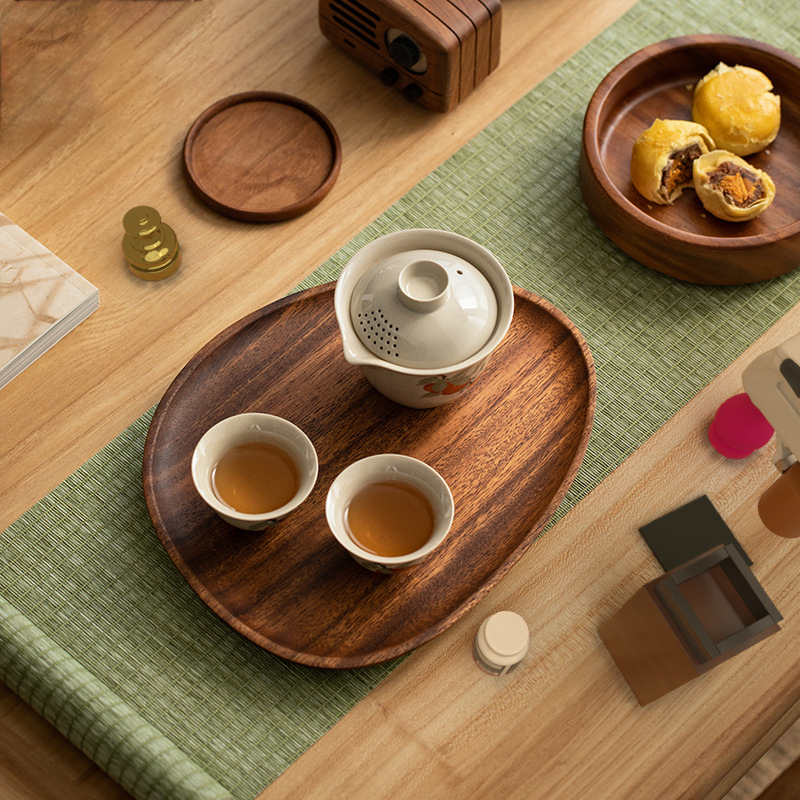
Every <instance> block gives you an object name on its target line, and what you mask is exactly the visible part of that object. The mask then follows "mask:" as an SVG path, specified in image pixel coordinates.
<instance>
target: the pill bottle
mask: <svg viewBox="0 0 800 800" xmlns="http://www.w3.org/2000/svg"><path fill="white" fill-rule="evenodd" d="M530 644H531V638H530V630H529V627H528V624H527V622H526V621H525V619H524V618H523V617H522V616H521V615H519V614H518V613H516V612H514V611H511V610H501V611H498V612H495V613H494V614H491V615H489V616H488V617H486V618H485V619H484V620H483V622H482V623H481V624H480V626H479V627H478V630H477V632H476V634H475V637H474V638H473V641H472V645H471V654H472V658H473V661H474V663H475V664H476V666H477V668H478V669H479V670H481V671H482V672H483V673H484V674H486V675H490V676H493V677H502V676H503V677H504V676H506V675H509V674H511V673H512V672H513V671H514V670H515V669H516V668H517V667H518V666H519V664H520V663H521V662H522V661H523V659H524V658H525V656H526V655H527V653H528V651H529V648H530Z"/></svg>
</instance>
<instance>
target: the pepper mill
mask: <svg viewBox="0 0 800 800" xmlns="http://www.w3.org/2000/svg"><path fill="white" fill-rule="evenodd" d="M775 432H776V431H775V429H774V428H773V427H772V425H771V424H770V423H769V421H768V420H767V419H766V417H765V416H764V415H763V413H762V412H761V411H760V410H759V408H758V407H757V406H756V404H755V403H754V402H753V400H752V399H751V398H750V396H749V395H748V394H747V393H746V392H741V393H737V394H735V395H732V396H730V397H728V398H726V399H725V401H724V402H722V403H721V404H720V405H719V407H718V408H717V409H716V412H715V415H714V419H713V420H712V422H711V423H710V425H709V427H708V439H709V442H710V444H711V446H712V447H713V449H714V450H715V451H716V452H717V453H718V454H720V455H721V456H723V457H725V458H728V459H733V460H741V459H745V458H748V457H750V455H752V454H753V453H754V452H755V451H757V450H760V449H762V448H763V447H765V446H766V445H767V444H768V443H769V442H770V440H772V437H773V436H774V434H775Z"/></svg>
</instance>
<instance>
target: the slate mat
mask: <svg viewBox="0 0 800 800" xmlns="http://www.w3.org/2000/svg"><path fill="white" fill-rule="evenodd" d="M638 531H639V533H640V535H641V536H642V538H643V539H644V541H645V542H646V544H647V545H648V547H649V549H650V550H651V552H652V553H653V555H654V556H655V558H656V560H657V561H658V562H659V565H660V566H661V568H662V569H663V571H664V573H667V572H669V571H670V570H672V569H674V568H676V567H678V566H680V565H682V564H684V563H686V562H688V561H689V560H691V559H693V558H695V557H697V556H699V555H701V554H703V553H705V552H706V551H708V550H710V549H712V548H714V547H716V546H718V545H720V544H722V543H723V544H724V546H727V545H729V544H730V543H732V544H733V545H734V547H735V548H736V549H737V551H738V552H739V554H740V555H741V557H742V558H743V560H744V561H745V563H746V564H747V565H748V567H749V568H750V567H752V566H753V565H754V562H753V561H752V559H751V558H750V556H749V555H748V553H747V552H746V551H745V549H744V547H743V546H742V545H741V543H740V542H739V540H738V539H737V538H736V536H735V535H734V533H733V532H732V530H731V529H730V528H729V526H728V524H727V523H726V522H725V520H724V519H723V517H722V515H720V513H719V512H718V510H717V509H716V507H715V505H713V503H712V501H711V500H710V498H709V497H708V495H707V494H704V495H701V496H699V497H697V498H695V499H694V500H691V501H689V502H688V503H685V504H684V505H682V506H679V507H678V508H676V509H673V510H672V511H670V512H668V513H666V514H664V515H662V516H661V517H658V518H656V519H654V520H652V521H651V522H648V523H647V524H644V525H642V526H641V527H639V528H638Z"/></svg>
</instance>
